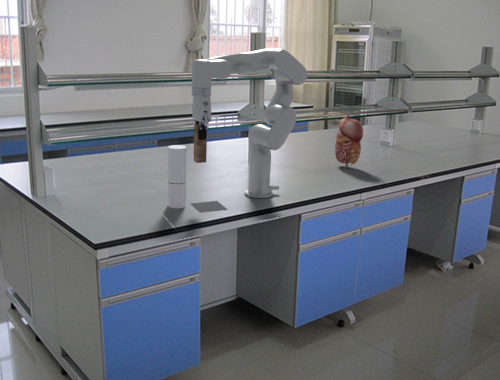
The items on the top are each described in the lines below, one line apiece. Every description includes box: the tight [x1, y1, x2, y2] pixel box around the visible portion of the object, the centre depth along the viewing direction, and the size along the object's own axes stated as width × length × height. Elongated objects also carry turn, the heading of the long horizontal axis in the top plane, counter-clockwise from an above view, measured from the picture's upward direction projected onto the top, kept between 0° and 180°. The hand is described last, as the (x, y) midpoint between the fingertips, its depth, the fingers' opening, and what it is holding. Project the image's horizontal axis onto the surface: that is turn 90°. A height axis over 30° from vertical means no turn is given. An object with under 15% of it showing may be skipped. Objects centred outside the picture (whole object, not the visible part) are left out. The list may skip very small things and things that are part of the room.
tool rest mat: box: [189, 200, 228, 213], centre depth 214 cm, size 12×12×1 cm
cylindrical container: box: [167, 144, 187, 209], centre depth 210 cm, size 7×7×25 cm
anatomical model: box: [334, 113, 364, 168], centre depth 288 cm, size 12×16×30 cm
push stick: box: [193, 123, 208, 164], centre depth 210 cm, size 4×4×15 cm
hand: (200, 137), depth 210 cm, fingers closed on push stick, 4 cm apart
